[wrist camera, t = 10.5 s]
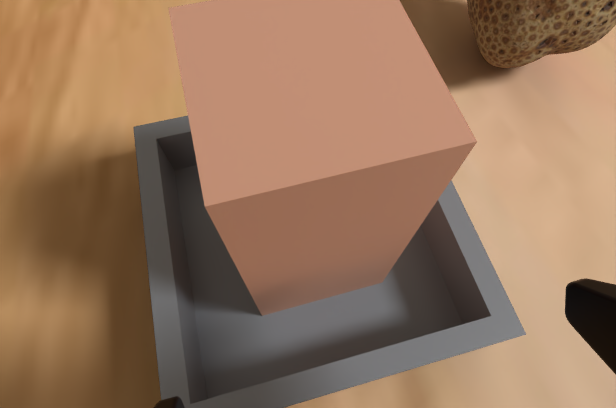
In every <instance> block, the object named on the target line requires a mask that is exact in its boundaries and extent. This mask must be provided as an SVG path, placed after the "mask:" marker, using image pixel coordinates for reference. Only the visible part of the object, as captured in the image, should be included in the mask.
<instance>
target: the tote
mask: <svg viewBox="0 0 616 408" xmlns="http://www.w3.org/2000/svg"><path fill="white" fill-rule="evenodd" d="M134 137H135V147H136V156H137V166H138V176H139V186H140V196H141V205H142V215H143V225H144V235H145V245H146V254H147V264H148V274H149V284H150V294H151V303H152V313H153V323H154V333H155V343H156V353H157V362H158V372H159V382H160V392H161V400H164V399H167V398H171V397H174V396H178V397H180V398H181V400H182V402H183V404H184V407H185V408H284V407H287V406H291V405H294V404H297V403H301V402H304V401H307V400H311V399H314V398H317V397H321V396H324V395H327V394H330V393H334V392H337V391H340V390H344V389H347V388H350V387H354V386H357V385H360V384H364V383H367V382H370V381H373V380H377V379H380V378H383V377H387V376H390V375H393V374H397V373H400V372H403V371H407V370H410V369H413V368H417V367H420V366H423V365H426V364H430V363H433V362H436V361H440V360H443V359H446V358H450V357H453V356H456V355H460V354H463V353H466V352H469V351H473V350H476V349H479V348H483V347H486V346H489V345H493V344H496V343H499V342H503V341H506V340H509V339H512V338H516V337H519V336H522V335H526V333H525V331H524V329H523V327H522V325H521V323H520V321H519V319H518V317H517V315H516V312H515V310H514V308H513V306H512V304H511V302H510V300H509V298H508V296H507V294H506V292H505V290H504V288H503V286H502V284H501V282H500V280H499V277H498V275H497V273H496V271H495V269H494V267H493V265H492V263H491V261H490V259H489V257H488V255H487V253H486V251H485V249H484V247H483V245H482V243H481V240H480V238H479V236H478V234H477V232H476V230H475V228H474V226H473V224H472V222H471V220H470V218H469V216H468V214H467V212H466V210H465V208H464V205H463V203H462V201H461V199H460V197H459V195H458V193H457V191H456V189H455V187H454V185H453V183H452V181H450V182H449V184H448V185H447V187H446V188H445V190H444V191H443V193H442V194H441V196H440V197H439V199H438V200H437V202H436V203H435V205H434V206H433V208H432V209H431V211H430V212H429V214H428V215H427V217H426V218H425V220H424V221H423V223H422V224H421V226H420V227H419V229H418V230H417V231H416V233H415V234H414V236H413V237H412V239H411V240H410V242H409V243H408V245H407V246H406V248H405V249H404V251H403V252H402V254H401V255H400V257H399V258H398V260H397V261H396V263H395V264H394V266H393V267H392V269H391V270H390V272H389V273H388V275H387V276H386V278H385V279H384V280H383V282H382V283H379V284H375V285H372V286H368V287H364V288H361V289H357V290H354V291H350V292H346V293H343V294H339V295H336V296H332V297H328V298H325V299H321V300H318V301H314V302H310V303H307V304H303V305H300V306H296V307H292V308H289V309H285V310H281V311H278V312H274V313H271V314H267V315H263V316H262V315H261V313H260V311H259V309H258V307H257V305H256V304H255V302H254V300H253V298H252V296H251V294H250V292H249V290H248V288H247V286H246V284H245V283H244V281H243V279H242V277H241V275H240V273H239V271H238V269H237V267H236V265H235V263H234V262H233V260H232V258H231V256H230V254H229V252H228V250H227V248H226V246H225V244H224V242H223V241H222V239H221V237H220V235H219V233H218V231H217V229H216V227H215V225H214V223H213V221H212V220H211V218H210V216H209V214H208V212H207V210H206V208H205V205H204V200H203V194H202V189H201V183H200V178H199V172H198V167H197V162H196V156H195V151H194V145H193V140H192V134H191V129H190V123H189V118H188V116H184V117H179V118H174V119H169V120H164V121H159V122H155V123H150V124H145V125H140V126H135V127H134Z"/></svg>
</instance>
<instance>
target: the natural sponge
mask: <svg viewBox="0 0 616 408" xmlns="http://www.w3.org/2000/svg"><path fill="white" fill-rule="evenodd" d="M467 3H468V12H469V16H470V20H471V24H472V27H473V30H474V34H475V37H476V40H477V44H478V47H479V50H480V52H481V55H482V56H483V57H484V59H485V60H486V61H487V62H488V63H489V64H491V65H493V66H496V67H501V68H513V67H519V66H523V65H526V64H528V63H531V62H534V61H536V60H538V59H540V58H542V57H543V56H545V55H549V54H561V53H569V52H574V51H578V50H581V49H584V48H586V47H588V46H590V45H592V44H594V43H596V42H597V41H598V40H600V39H601V38H602V37H603V36H605V35H606V34H607V33H608V32H609V31H610V30H611V29H612V28H613V27H614V26H615V25H616V0H467Z"/></svg>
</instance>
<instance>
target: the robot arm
mask: <svg viewBox="0 0 616 408" xmlns="http://www.w3.org/2000/svg"><path fill="white" fill-rule="evenodd" d="M565 314H566V317H567V320H568V321H569V323H570V324H571V325H572V326H573V327H574V329H575V330H576V331H577V332H578V333H579V334H580V335H581V336H582V338H583V339H584V340H585V341H586V342H587V343H588V344H589V345H590V346H591V348H592V349H593V350H594V351H595V352H596V353H597V354H598V355H599V356H600V358H601V359H602V360H603V361H604V362H605V363H606V364H607V365H608V367H609V368H610V369H611V370H612V371H613V372H614V373H615V374H616V285H615V284H610V283H605V282H601V281H596V280H591V279H580V280H577V281H573V282H570V283H569V284H568V285H567V287H566V299H565ZM154 408H185V407H184V404H183V402H182V400H181V398H180V397H178V396H174V397H171V398H167V399H164V400H161V401H159V402H158V403H157V404H156V405H155V407H154Z"/></svg>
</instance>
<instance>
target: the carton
mask: <svg viewBox="0 0 616 408" xmlns="http://www.w3.org/2000/svg"><path fill="white" fill-rule="evenodd" d="M169 14H170V19H171V25H172V30H173V36H174V41H175V47H176V52H177V58H178V63H179V69H180V74H181V79H182V85H183V90H184V96H185V101H186V107H187V112H188V118H189V123H190V129H191V134H192V140H193V145H194V151H195V156H196V162H197V167H198V172H199V178H200V183H201V189H202V194H203V200H204V205H205V208H206V210H207V212H208V214H209V216H210V218H211V220H212V221H213V223H214V225H215V227H216V229H217V231H218V233H219V235H220V237H221V239H222V241H223V242H224V244H225V246H226V248H227V250H228V252H229V254H230V256H231V258H232V260H233V262H234V263H235V265H236V267H237V269H238V271H239V273H240V275H241V277H242V279H243V281H244V283H245V284H246V286H247V288H248V290H249V292H250V294H251V296H252V298H253V300H254V302H255V304H256V305H257V307H258V309H259V311H260V313H261V315H262V316H263V315H267V314H271V313H274V312H278V311H281V310H285V309H289V308H292V307H296V306H300V305H303V304H307V303H310V302H314V301H318V300H321V299H325V298H328V297H332V296H336V295H339V294H343V293H346V292H350V291H354V290H357V289H361V288H364V287H368V286H372V285H375V284H379V283H382V282H383V280H384V279H385V278H386V276H387V275H388V273H389V272H390V270H391V269H392V267H393V266H394V264H395V263H396V261H397V260H398V258H399V257H400V255H401V254H402V252H403V251H404V249H405V248H406V246H407V245H408V243H409V242H410V240H411V239H412V237H413V236H414V234H415V233H416V231H417V230H418V229H419V227H420V226H421V224H422V223H423V221H424V220H425V218H426V217H427V215H428V214H429V212H430V211H431V209H432V208H433V206H434V205H435V203H436V202H437V200H438V199H439V197H440V196H441V194H442V193H443V191H444V190H445V188H446V187H447V185H448V184H449V182H450V181H451V179H452V178H453V177H454V175H455V174H456V172H457V171H458V169H459V168H460V166H461V165H462V163H463V162H464V160H465V159H466V157H467V156H468V154H469V153H470V151H471V150H472V148H473V147H474V145H475V144H476V142H477V140H476V139H475V137H474V135H473V133H472V131H471V130H470V128H469V126H468V124H467V122H466V120H465V119H464V117H463V115H462V113H461V111H460V110H459V108H458V106H457V104H456V102H455V100H454V99H453V97H452V95H451V93H450V91H449V90H448V88H447V86H446V84H445V82H444V80H443V79H442V77H441V75H440V73H439V71H438V70H437V68H436V66H435V64H434V62H433V60H432V59H431V57H430V55H429V53H428V51H427V50H426V48H425V46H424V44H423V42H422V40H421V39H420V37H419V35H418V33H417V31H416V30H415V28H414V26H413V24H412V22H411V20H410V19H409V17H408V15H407V13H406V11H405V10H404V8H403V6H402V4H401V2H400V0H211V1H205V2H199V3H194V4H188V5H182V6H177V7H171V8H169Z"/></svg>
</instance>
